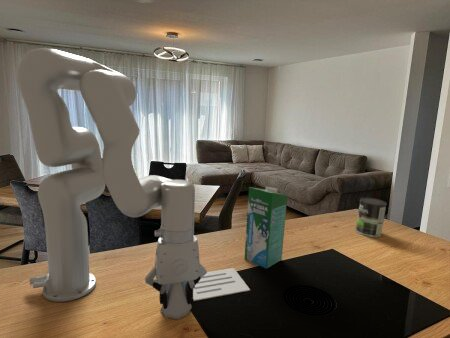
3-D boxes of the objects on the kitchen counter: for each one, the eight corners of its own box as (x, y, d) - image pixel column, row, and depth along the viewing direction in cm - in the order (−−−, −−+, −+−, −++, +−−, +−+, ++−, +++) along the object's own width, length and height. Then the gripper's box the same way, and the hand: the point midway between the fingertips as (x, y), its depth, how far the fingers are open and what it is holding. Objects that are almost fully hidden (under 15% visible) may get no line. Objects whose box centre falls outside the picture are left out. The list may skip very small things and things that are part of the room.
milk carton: (281, 259, 101) (288, 188, 96) (266, 269, 94) (272, 192, 89) (260, 250, 107) (265, 182, 102) (244, 258, 100) (248, 186, 95)
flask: (196, 307, 74) (198, 270, 72) (177, 324, 68) (178, 284, 66) (174, 297, 78) (175, 261, 76) (154, 311, 72) (154, 274, 70)
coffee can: (364, 237, 123) (368, 204, 120) (351, 227, 133) (355, 197, 130) (387, 237, 124) (392, 205, 122) (372, 227, 134) (377, 197, 132)
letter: (193, 301, 77) (193, 299, 77) (183, 276, 88) (183, 275, 88) (250, 290, 82) (250, 289, 82) (233, 268, 93) (233, 267, 93)
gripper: (141, 244, 63) (141, 320, 66) (217, 235, 69) (214, 306, 72) (138, 230, 70) (138, 300, 73) (207, 224, 76) (205, 288, 79)
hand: (176, 302), depth 73 cm, fingers closed on flask, 5 cm apart
